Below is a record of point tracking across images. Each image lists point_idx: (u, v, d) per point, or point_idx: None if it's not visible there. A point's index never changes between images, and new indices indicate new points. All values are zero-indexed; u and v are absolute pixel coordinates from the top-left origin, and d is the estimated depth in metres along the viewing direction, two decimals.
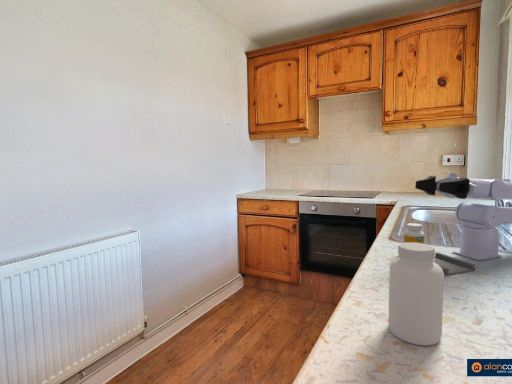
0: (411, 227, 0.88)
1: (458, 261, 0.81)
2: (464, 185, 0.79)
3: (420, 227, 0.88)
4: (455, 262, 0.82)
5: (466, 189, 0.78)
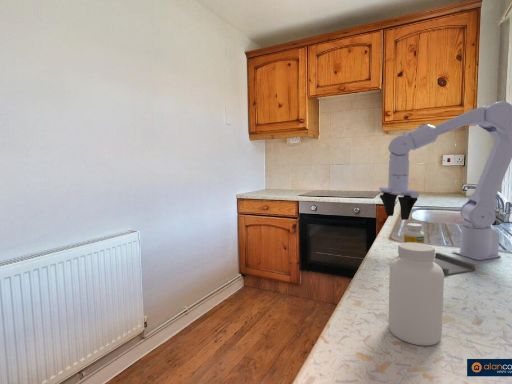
0: (411, 227, 0.88)
1: (458, 261, 0.81)
2: (407, 199, 0.91)
3: (420, 227, 0.88)
4: (455, 262, 0.82)
5: (411, 199, 0.90)
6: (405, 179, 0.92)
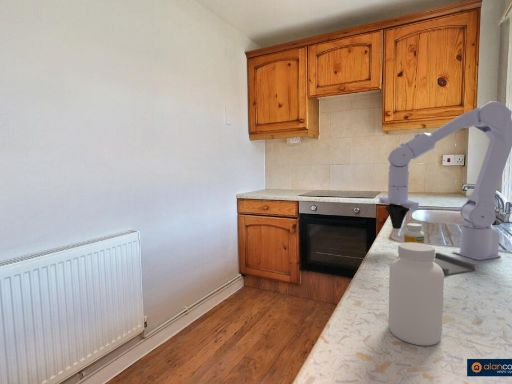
0: (411, 227, 0.88)
1: (458, 261, 0.81)
2: None
3: (420, 227, 0.88)
4: (455, 262, 0.82)
5: (403, 209, 0.93)
6: (405, 191, 0.92)
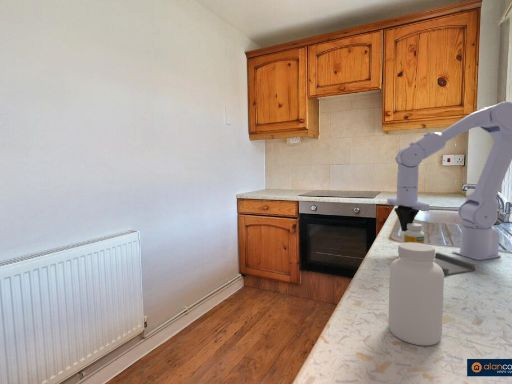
0: (411, 227, 0.88)
1: (458, 261, 0.81)
2: None
3: (420, 227, 0.88)
4: (455, 262, 0.82)
5: (413, 211, 0.90)
6: (415, 192, 0.89)
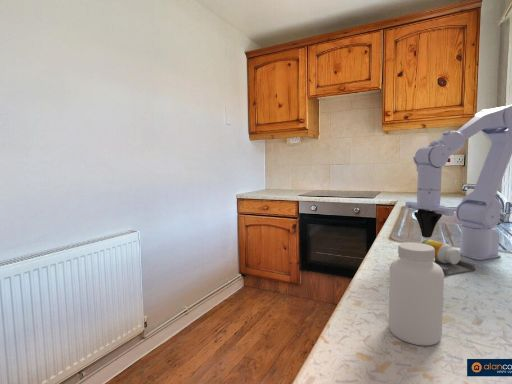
0: (448, 255, 0.79)
1: None
2: None
3: (451, 263, 0.80)
4: None
5: (435, 215, 0.83)
6: (437, 195, 0.82)
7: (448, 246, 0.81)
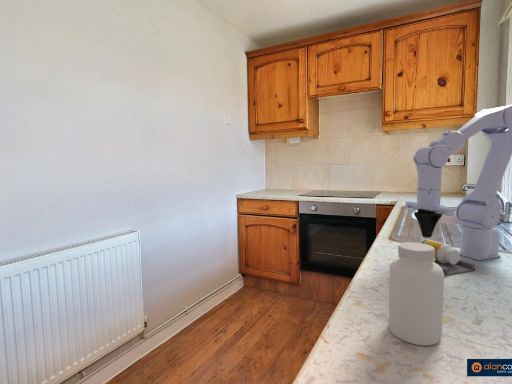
0: (447, 256, 0.79)
1: (458, 261, 0.81)
2: None
3: (451, 263, 0.80)
4: None
5: (435, 215, 0.83)
6: (438, 195, 0.82)
7: (447, 246, 0.81)
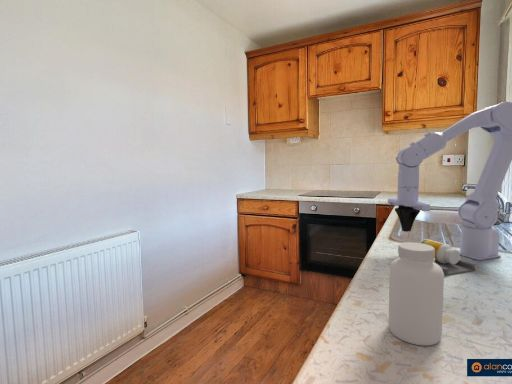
0: (447, 256, 0.79)
1: (458, 261, 0.81)
2: None
3: (451, 263, 0.80)
4: None
5: (414, 211, 0.90)
6: (415, 192, 0.89)
7: (447, 246, 0.81)
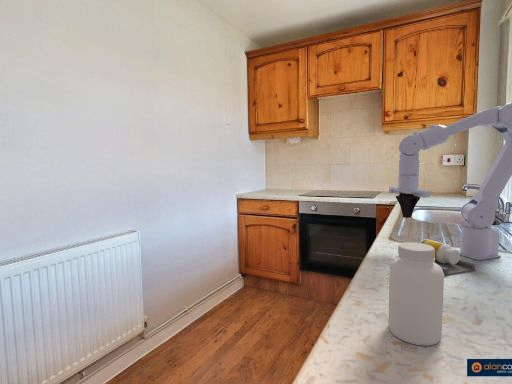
0: (447, 256, 0.79)
1: (458, 261, 0.81)
2: None
3: (451, 263, 0.80)
4: None
5: (414, 198, 0.93)
6: (416, 179, 0.92)
7: (447, 246, 0.81)
